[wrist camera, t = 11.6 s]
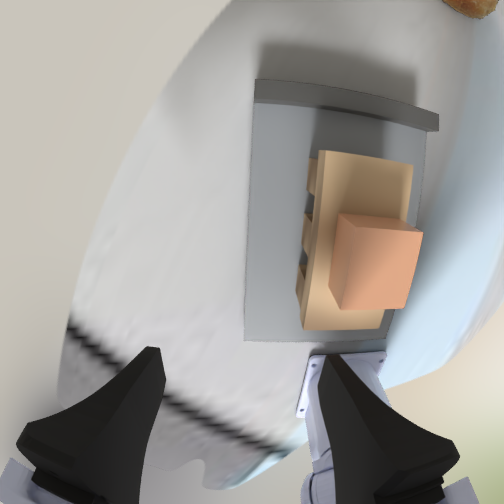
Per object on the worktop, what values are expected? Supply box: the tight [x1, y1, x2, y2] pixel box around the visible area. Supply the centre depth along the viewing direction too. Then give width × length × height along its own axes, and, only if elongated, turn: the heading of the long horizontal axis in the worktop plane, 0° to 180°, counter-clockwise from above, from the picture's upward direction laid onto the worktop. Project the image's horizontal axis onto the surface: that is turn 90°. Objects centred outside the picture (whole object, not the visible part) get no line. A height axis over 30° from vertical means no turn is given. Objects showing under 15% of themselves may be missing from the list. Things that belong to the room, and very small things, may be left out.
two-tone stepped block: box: [295, 150, 414, 330], centre depth 16 cm, size 10×5×4 cm, turn 177°
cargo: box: [328, 213, 423, 310], centre depth 13 cm, size 4×4×2 cm
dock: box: [244, 79, 439, 342], centre depth 18 cm, size 18×12×4 cm, turn 177°
